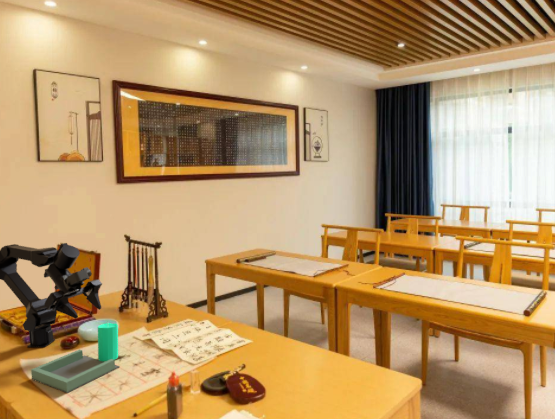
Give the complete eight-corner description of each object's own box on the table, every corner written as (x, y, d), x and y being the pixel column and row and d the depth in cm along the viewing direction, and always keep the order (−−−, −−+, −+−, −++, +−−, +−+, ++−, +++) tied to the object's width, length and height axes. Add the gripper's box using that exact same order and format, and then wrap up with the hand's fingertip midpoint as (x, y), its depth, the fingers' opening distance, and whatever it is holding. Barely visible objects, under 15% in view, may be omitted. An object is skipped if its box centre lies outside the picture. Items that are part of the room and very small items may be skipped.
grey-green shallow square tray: (84, 356, 140) (83, 347, 139) (119, 367, 131) (118, 357, 131) (31, 379, 125) (31, 369, 125) (67, 393, 116) (66, 382, 116)
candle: (111, 362, 134) (111, 323, 134) (94, 360, 135) (93, 322, 135) (121, 355, 140) (121, 318, 140) (105, 353, 141) (104, 317, 141)
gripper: (46, 268, 132) (75, 306, 129) (95, 256, 149) (122, 289, 145) (32, 291, 136) (59, 328, 133) (81, 277, 153) (107, 310, 149)
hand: (89, 313), depth 140 cm, fingers open, 9 cm apart
